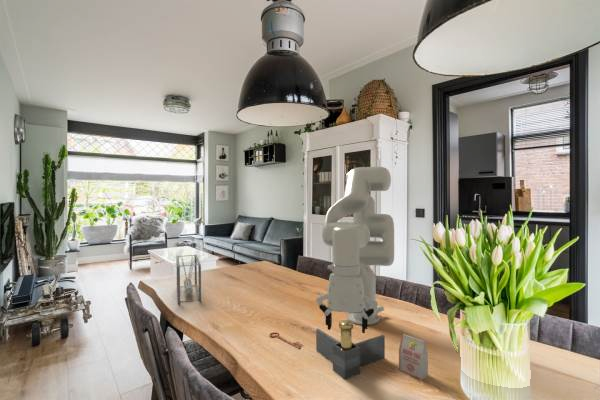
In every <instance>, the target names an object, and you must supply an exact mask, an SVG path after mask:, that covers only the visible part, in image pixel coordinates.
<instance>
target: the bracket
mask: <svg viewBox="0 0 600 400" xmlns="http://www.w3.org/2000/svg"><path fill="white" fill-rule="evenodd" d="M315 332H316V333H315V338H316V339H315V343H316V345H315V347H316V348H315V350H316V352H317V353H319V354H320V355H321V356H323V357H324V358H325V359H327V360H328V361H330V362H331V363H332V371H333V372H334V373H336V374H337V375H338V376H339V377H341V378H342V379H343V380H348V379H350V378H353V377H356V376H358V375H360V374H361V368H363V367H366V366H368V365H371V364H374V363H376V362H380V361H382V360H384V359H386V357H385V356H386V355H385V354H386V353H385V352H386V351H385V350H386V347H385V346H386V345H385V344H386V342H385V341H386V340H385V338H386V336H385V335H384V334H381V335H378V336H376V337H372V338H368V339H366V340H363V341H359V342H356V343H354V342H352V349H350V350H347V351H344V350H343V349H341V341H339V340H337V339H335V338H334V337H332V336H331V335H329V334H327V333H326V332H325V331H323V330H321V329H320V328H316V329H315Z"/></svg>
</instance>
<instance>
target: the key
mask: <svg viewBox="0 0 600 400" xmlns="http://www.w3.org/2000/svg"><path fill="white" fill-rule="evenodd" d="M273 334H274V335H273ZM269 337H270V338H277V339H279V340H281V341H283V342H284V343H287V344H288V345H290V346H292V347H294V348H296V349H297V350H299V349H301V348H302V347H304V346H305V345H304V344H302V343H300V342H299V341H296V342H291V341H289V340H287V339H286V338H284V337H283V336H280V333H279V332H271V333H269Z"/></svg>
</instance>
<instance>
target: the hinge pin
mask: <svg viewBox="0 0 600 400" xmlns="http://www.w3.org/2000/svg"><path fill="white" fill-rule="evenodd" d="M338 328H339V329H340V342H341V349H343V350H344V351H347V350H350V349H352V343H353V342H352V341H353V340H352V338H353V336H352V333H353V332H352V330H353V329H354V323H353V322H352V321H350V320H349V319H347V320H344V319H342V320H340V321H339V322H338Z"/></svg>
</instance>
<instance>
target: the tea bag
mask: <svg viewBox="0 0 600 400" xmlns="http://www.w3.org/2000/svg"><path fill="white" fill-rule="evenodd" d="M398 371H400V372H401V373H404V374H406V375H409V376H411V377H413V378H415V379H418V380H420V381H422V380H424V379H425V378H427V377H428V375H429V352H428V349H427V345H426V341H425V340H421V339H420V338H416V337H413V336H411V335H407V334H405V333H402V334H401V339H400V344H399V347H398Z"/></svg>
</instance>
